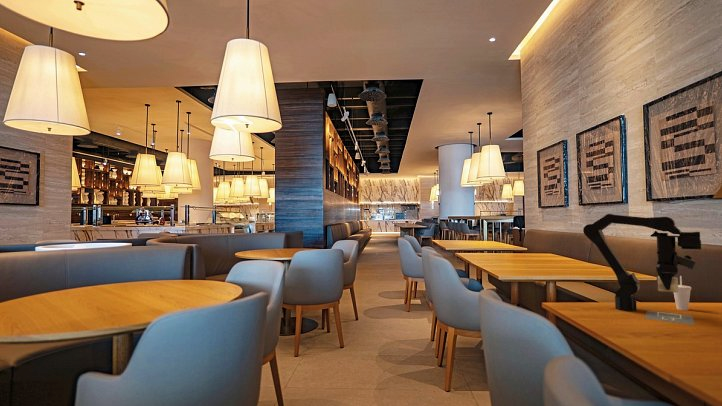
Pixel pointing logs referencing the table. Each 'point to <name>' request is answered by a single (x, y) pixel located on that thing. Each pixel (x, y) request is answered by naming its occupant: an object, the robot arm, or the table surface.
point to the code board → (670, 317)
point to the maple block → (672, 288)
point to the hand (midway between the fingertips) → (667, 288)
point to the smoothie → (682, 296)
